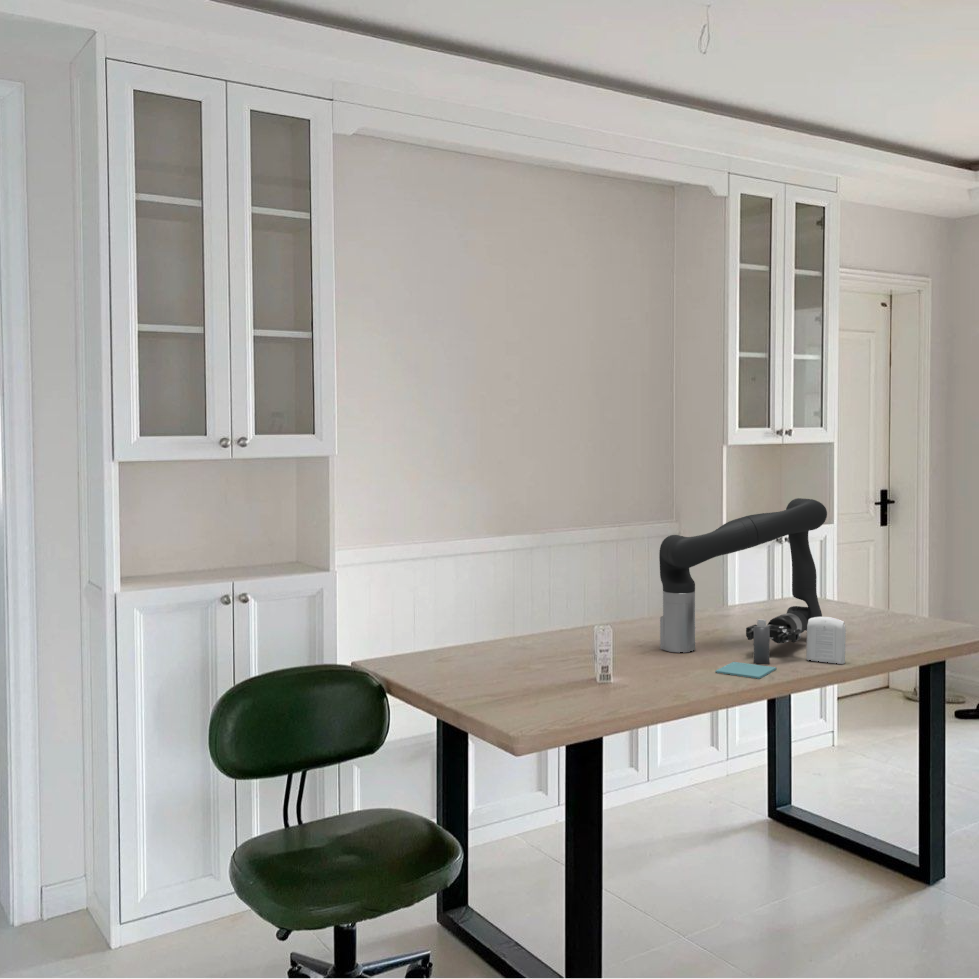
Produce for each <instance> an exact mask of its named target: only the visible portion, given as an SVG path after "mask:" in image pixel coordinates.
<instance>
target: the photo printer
mask: <svg viewBox="0 0 979 979" xmlns="http://www.w3.org/2000/svg"><path fill="white" fill-rule="evenodd" d="M846 628H847V627H846V625H845V621H843V620H841V619H839V618H835V617H831V616H822V617H814V618H810V619H809V620H808V624H807V631H806V653H805V654H806V655H805V656H806V659H805V660H806V661H809V660H811V661H812V662H818V661H819V662H821V663H827V662H828V663H829V664H836V663H837V665H844V664H845V662H846V634H847V633H846V631H847V630H846ZM811 661H810V662H811ZM819 662H818V663H819ZM828 663H827V664H828Z"/></svg>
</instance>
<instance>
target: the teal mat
mask: <svg viewBox="0 0 979 979" xmlns="http://www.w3.org/2000/svg"><path fill="white" fill-rule="evenodd" d="M774 670H775V671H776V670H777V667H775V666H768V665H758V664H754V663H748V662H747V663H745V662H737V661H732V662H730V663H728V664H725V666H722V667H720V668H718V669H715V673H716V672H717V673H716V674H719V673H723V674H722V675H726V674H730V675H729V676H734V675H737V676H736V677H741V676H743V677H742V678H748V677H751V678H750V679H755V678H757V680H761V679H762V678H764V677H765V676H768V675H770V674H771V673H773V672H774ZM772 671H773V672H772ZM767 674H768V675H767ZM760 678H761V679H760Z"/></svg>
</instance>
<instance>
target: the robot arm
mask: <svg viewBox="0 0 979 979" xmlns="http://www.w3.org/2000/svg"><path fill="white" fill-rule="evenodd" d="M827 517H828V511H827V508H826V506H825V504H823V503H822V502H820V501H818V500H816V499H813V498H802V497H801V498H799V497H798V498H794V499H792V500H790V501H789V503H787V506H786V509H785V510H781V511H773V512H764V513H763V512H762V513H755V514H750V515H746V516H741V517H739V518H735V519H732V520H729V521H727V522H725V523H723V524H722V525H721V526H719V527H718V528H716V529H715V530H713V531H711V532H708V533H704V534H700V535H699V534H698V535H695V536H694V535H693V536H683V535H679V534H671V535H668V536H667V537H665V538H664V539H663V540H662V542H661V544H660V547H659V553H658V554H659V557H658V558H659V575H660V576H659V578H660V582H661V584H662V616H661V615H660V617H659V625H660V626H659V627H660V628H659V638H660V640H659V643H660V644H659V646H660V647H659V648H660V649H659V650H662V651H663V650H664V651H666V652H670V653H680V652H683V653H690V651H692V652H694V651H696V582H695V580H694V578H692V577H693V576H692V574H691V572H690V568H692V567H695V566H698V565H700V564H702V563H705V562H706V561H709V560H711V559H713V558H716V557H719V556H720V557H721V556H724V555H729V554H733V553H737V552H740V551H743V550H748V549H751V548H754V547H757V546H760V545H763V544H767V543H769V542H772V541H774V540H778V539H780V538H783V537H785V536H788V543H789V548H790V559H791V594H792V597H793V598H795V599H796V600H797V599H798V600H801V601H803V602H805V604H806V605H807V606H800V605H799V606H798V605H793V606H790V607H789V608H787V610H786V613H782V614H780V615H778V616H776V617H773V618H771V619H770V620H769V621H768V623H766V626H769V627H770V641H773V642H774V643H777V644H786V643H788V642H792V643H796V642H798V641H799V640H801V639H802V634H803V633H804V632H807V624H808V620H809V619H810V618H814V617H823V612H822V610H821V607H820V602H819V598H818V594H817V592H818V591H817V568H816V564H815V561H814V558H813V555H812V552H811V548H810V543H809V542H810V541H809V531H814V530H817V529H819V528H820V527H822V526H823V525H824V523H825V522H826V520H827ZM754 626H757V624H752V625H749V626H747V627H746V628H745V637H746V638H747V640H749V641H752V640H754ZM693 650H694V651H693ZM680 654H681V653H680Z"/></svg>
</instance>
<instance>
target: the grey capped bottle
mask: <svg viewBox="0 0 979 979" xmlns="http://www.w3.org/2000/svg"><path fill="white" fill-rule="evenodd" d="M756 625H757V626H754V639H753V664H754V663H756V664H755V665H758V664H768V665H770V656H771V655H770V647H771V646H770V641H771V639H770V627H769V626H767V619H762V618H761V619H760V618H758V619H757V620H756Z"/></svg>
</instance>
